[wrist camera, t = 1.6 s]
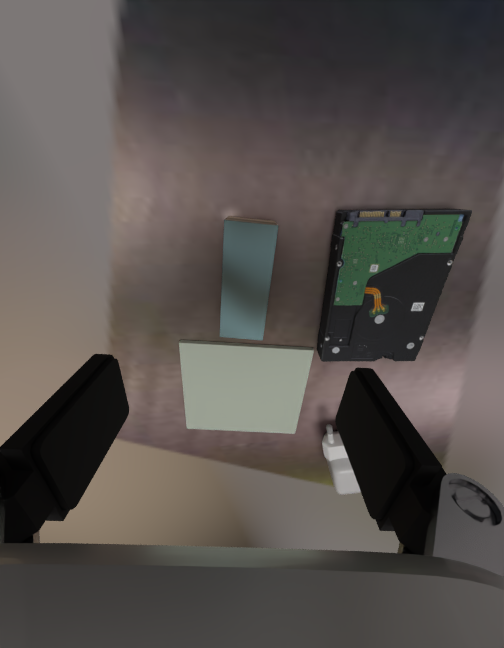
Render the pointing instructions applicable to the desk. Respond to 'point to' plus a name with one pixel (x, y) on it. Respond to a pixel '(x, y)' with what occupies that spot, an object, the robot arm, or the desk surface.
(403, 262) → the disk drive
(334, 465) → the power adapter
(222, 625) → the robot arm
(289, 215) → the desk surface
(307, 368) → the mat
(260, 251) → the teal-faced wooden block
